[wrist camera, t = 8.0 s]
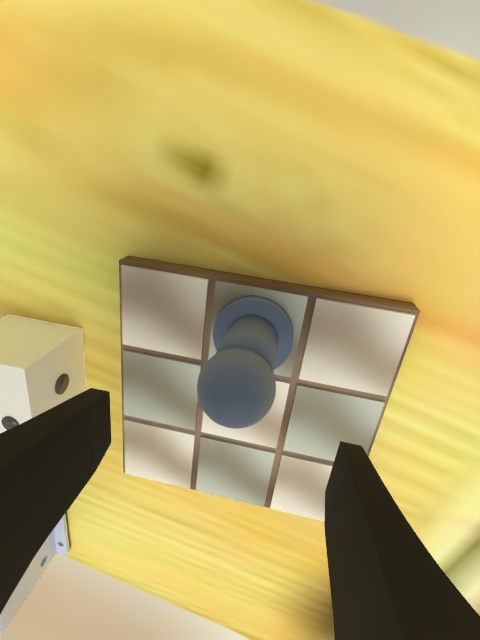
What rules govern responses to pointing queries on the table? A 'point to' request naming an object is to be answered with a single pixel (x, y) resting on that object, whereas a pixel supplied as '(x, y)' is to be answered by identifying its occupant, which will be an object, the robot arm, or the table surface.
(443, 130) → the table surface
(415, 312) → the board
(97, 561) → the table surface
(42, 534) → the robot arm
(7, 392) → the die
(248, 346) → the pawn
